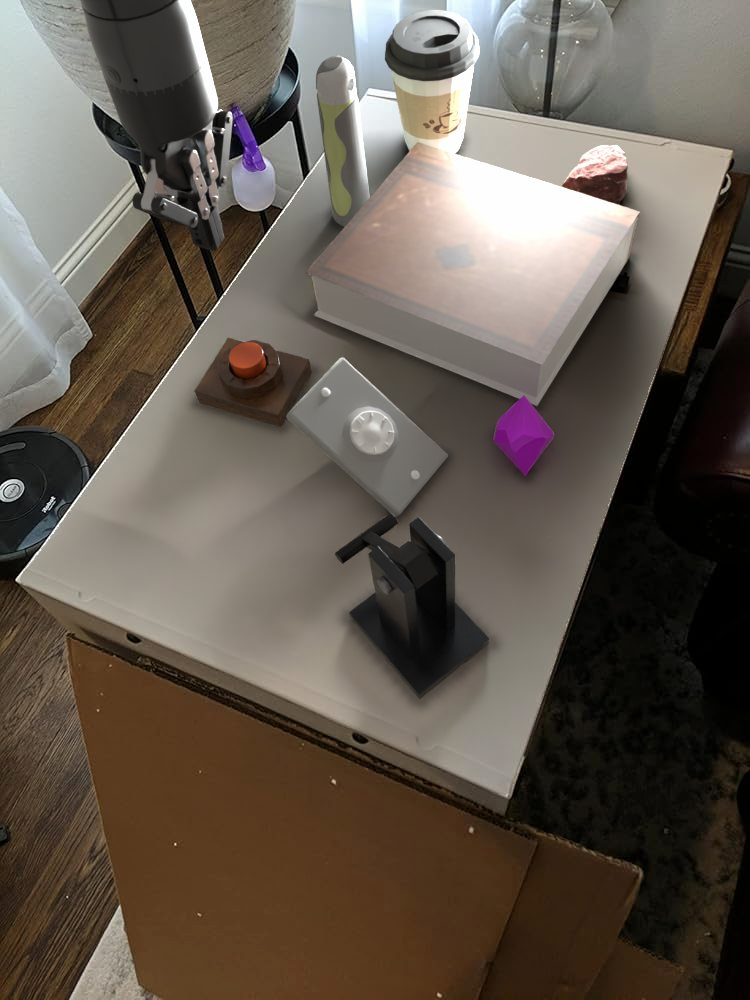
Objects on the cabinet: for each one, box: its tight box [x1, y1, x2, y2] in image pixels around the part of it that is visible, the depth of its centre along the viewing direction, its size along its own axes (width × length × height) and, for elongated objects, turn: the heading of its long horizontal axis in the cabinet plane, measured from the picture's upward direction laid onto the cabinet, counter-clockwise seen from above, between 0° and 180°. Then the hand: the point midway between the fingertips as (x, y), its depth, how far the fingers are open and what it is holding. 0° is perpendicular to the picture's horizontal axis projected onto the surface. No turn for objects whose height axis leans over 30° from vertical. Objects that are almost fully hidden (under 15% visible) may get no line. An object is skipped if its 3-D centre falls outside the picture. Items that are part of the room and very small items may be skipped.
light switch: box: [286, 356, 449, 517], centre depth 85 cm, size 8×6×14 cm
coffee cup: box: [384, 9, 481, 154], centre depth 106 cm, size 11×11×15 cm
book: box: [305, 142, 641, 407], centre depth 96 cm, size 24×28×6 cm
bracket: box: [348, 516, 490, 700], centre depth 71 cm, size 10×8×15 cm
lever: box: [334, 512, 438, 590], centre depth 69 cm, size 10×6×2 cm
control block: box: [193, 337, 313, 428], centre depth 92 cm, size 8×10×4 cm
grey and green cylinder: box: [315, 55, 371, 227], centre depth 98 cm, size 5×5×20 cm
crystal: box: [493, 395, 555, 477], centre depth 85 cm, size 5×5×5 cm
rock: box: [561, 144, 629, 205], centre depth 103 cm, size 11×6×8 cm
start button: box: [229, 341, 266, 379], centre depth 89 cm, size 4×4×2 cm
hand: (211, 243), depth 76 cm, fingers closed
